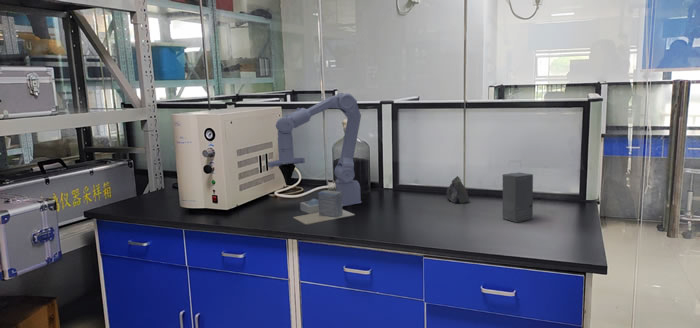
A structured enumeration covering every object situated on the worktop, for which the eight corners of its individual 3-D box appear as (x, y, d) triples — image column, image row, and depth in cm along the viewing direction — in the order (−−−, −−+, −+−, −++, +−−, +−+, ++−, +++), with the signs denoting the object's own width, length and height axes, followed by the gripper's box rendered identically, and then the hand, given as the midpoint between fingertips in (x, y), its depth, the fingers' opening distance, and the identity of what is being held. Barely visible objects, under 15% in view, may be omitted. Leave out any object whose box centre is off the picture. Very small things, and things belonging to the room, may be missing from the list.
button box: (319, 206, 196) (318, 199, 195) (328, 210, 189) (328, 203, 188) (300, 210, 192) (300, 202, 191) (309, 214, 185) (309, 206, 184)
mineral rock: (449, 195, 206) (449, 171, 205) (474, 197, 202) (475, 173, 200) (439, 202, 195) (439, 177, 194) (466, 205, 190) (467, 179, 189)
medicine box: (343, 214, 182) (342, 191, 181) (336, 217, 178) (335, 194, 177) (325, 212, 186) (324, 189, 185) (318, 215, 182) (317, 192, 181)
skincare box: (515, 223, 164) (516, 176, 162) (500, 218, 171) (500, 173, 168) (534, 219, 168) (535, 173, 165) (518, 214, 174) (519, 170, 172)
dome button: (317, 206, 194) (316, 196, 193) (323, 209, 189) (322, 199, 189) (305, 208, 191) (304, 198, 191) (311, 211, 187) (310, 201, 186)
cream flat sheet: (340, 209, 191) (340, 208, 191) (354, 215, 182) (354, 214, 182) (292, 217, 181) (292, 217, 181) (305, 224, 172) (305, 224, 172)
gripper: (298, 145, 197) (300, 179, 199) (264, 149, 190) (266, 184, 192) (306, 147, 191) (308, 182, 193) (270, 151, 183) (273, 187, 186)
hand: (287, 183), depth 192 cm, fingers closed
